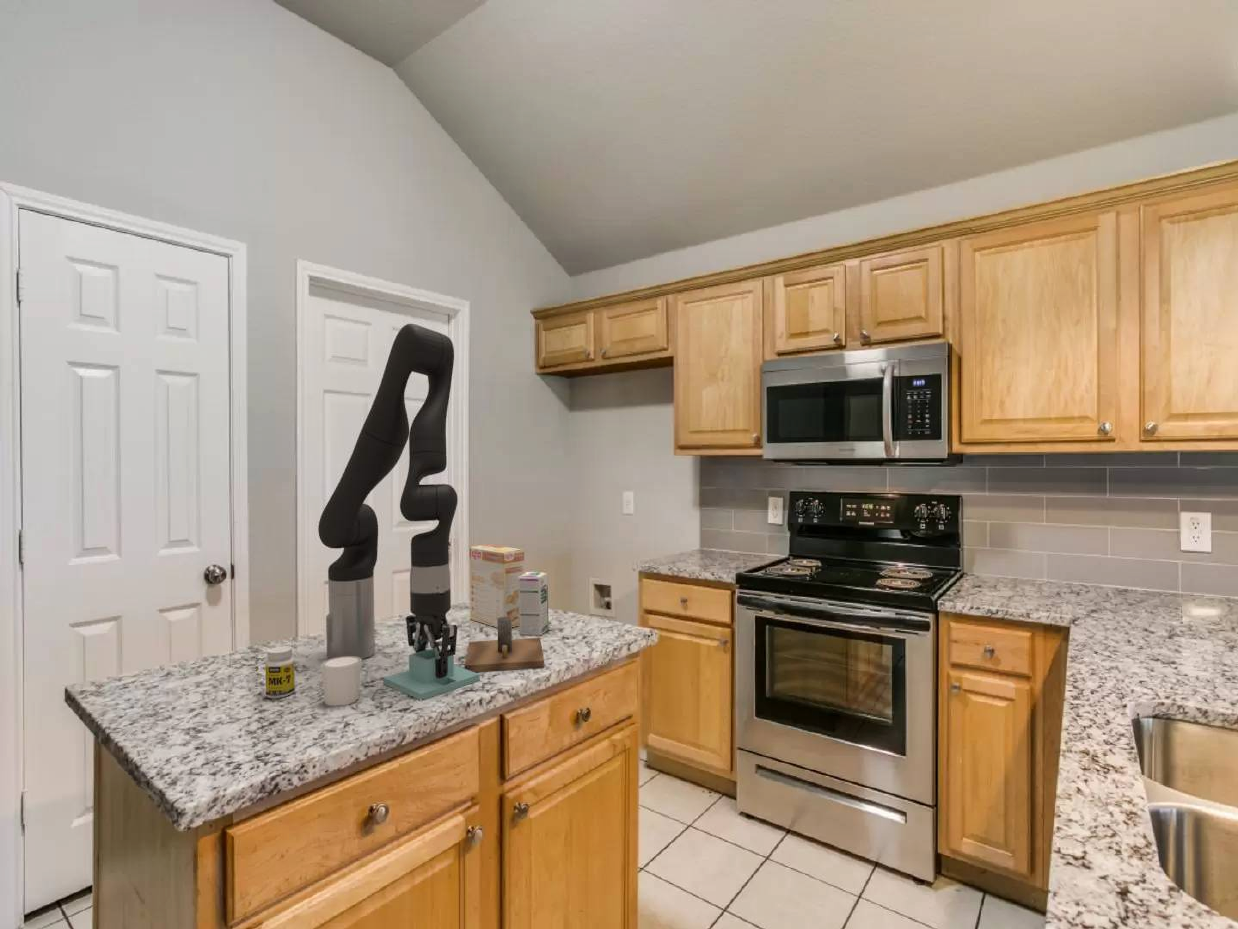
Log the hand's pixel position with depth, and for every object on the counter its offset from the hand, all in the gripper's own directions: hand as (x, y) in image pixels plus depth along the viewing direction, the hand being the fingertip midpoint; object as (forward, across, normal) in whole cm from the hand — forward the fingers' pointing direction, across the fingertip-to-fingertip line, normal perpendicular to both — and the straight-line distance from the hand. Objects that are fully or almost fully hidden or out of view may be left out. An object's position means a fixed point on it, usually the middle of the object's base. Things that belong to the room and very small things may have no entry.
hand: (431, 672), depth 125 cm
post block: (+2, 0, +18) cm, 18 cm away
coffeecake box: (+2, -24, +36) cm, 43 cm away
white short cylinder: (+2, -5, -15) cm, 16 cm away
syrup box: (+2, -10, +35) cm, 37 cm away
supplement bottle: (+2, -17, -21) cm, 27 cm away
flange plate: (+2, 0, 0) cm, 2 cm away
